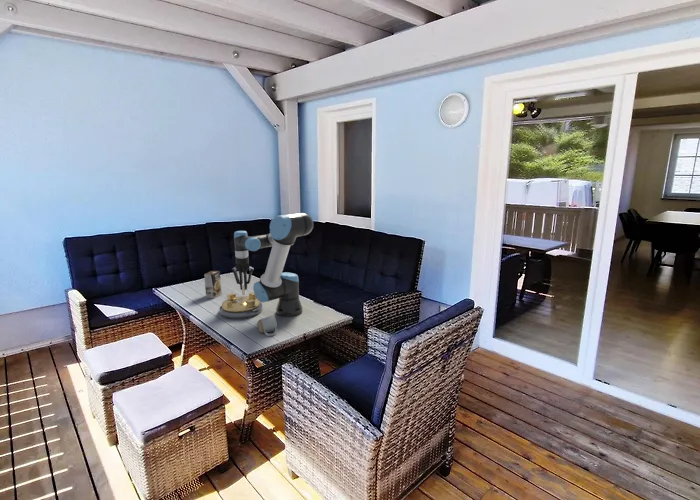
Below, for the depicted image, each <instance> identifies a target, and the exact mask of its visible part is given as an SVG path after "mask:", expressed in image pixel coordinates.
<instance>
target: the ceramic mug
mask: <svg viewBox="0 0 700 500" xmlns="http://www.w3.org/2000/svg"><path fill="white" fill-rule="evenodd" d="M257 329H258V331H259V332H260V333H261V334H264V335H266V336H268V337H273V336H275V335H276V333H277V330H278V323H277V319H276V317H275V315H270V316H267V317H262V318H261V319H258V321H257ZM270 332H273V333H270Z"/></svg>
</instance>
